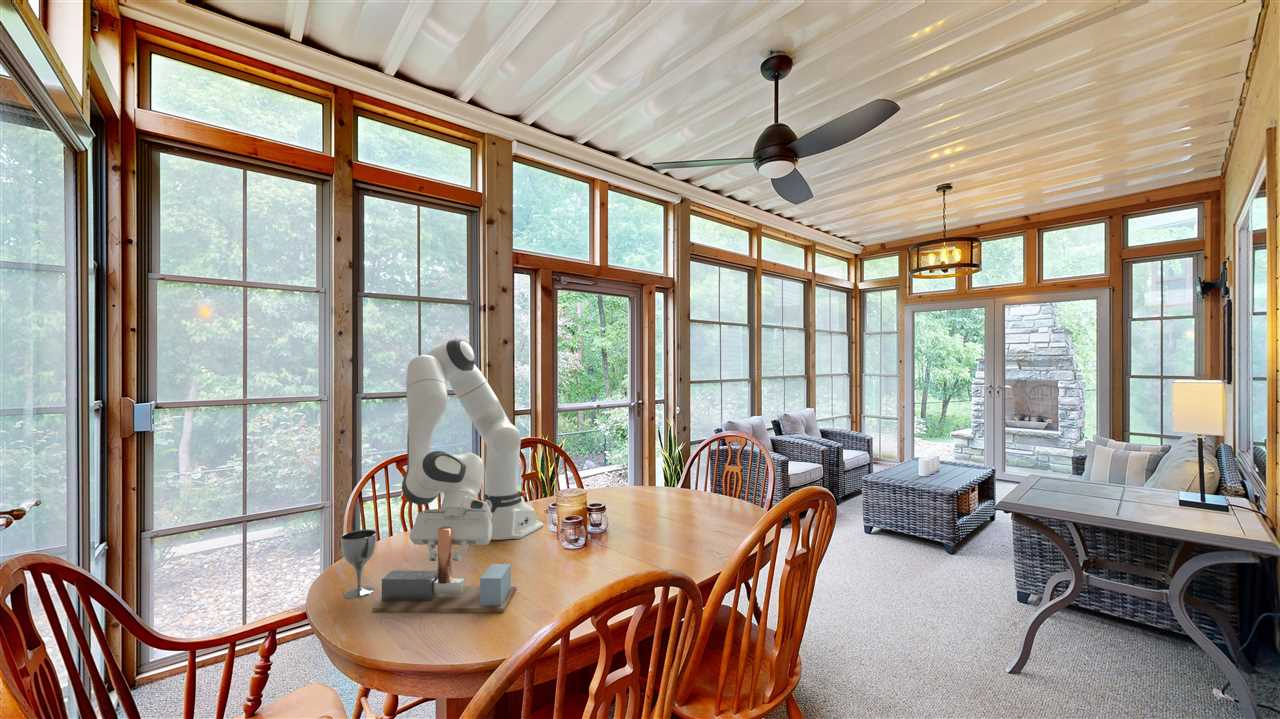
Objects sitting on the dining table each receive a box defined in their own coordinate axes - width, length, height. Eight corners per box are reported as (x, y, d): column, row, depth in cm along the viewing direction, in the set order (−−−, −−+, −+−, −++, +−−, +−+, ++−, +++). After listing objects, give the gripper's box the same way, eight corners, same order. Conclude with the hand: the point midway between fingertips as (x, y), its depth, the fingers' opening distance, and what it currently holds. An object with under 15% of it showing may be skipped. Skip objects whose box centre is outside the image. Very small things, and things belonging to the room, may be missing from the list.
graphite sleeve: (381, 601, 129) (381, 579, 129) (392, 591, 134) (392, 570, 134) (430, 601, 128) (430, 579, 128) (439, 591, 134) (439, 570, 134)
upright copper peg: (387, 593, 130) (387, 530, 130) (394, 587, 133) (394, 526, 133) (460, 594, 129) (460, 530, 129) (464, 588, 133) (464, 526, 133)
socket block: (480, 605, 126) (480, 578, 126) (491, 589, 135) (491, 563, 135) (500, 605, 126) (500, 578, 126) (510, 589, 135) (510, 563, 135)
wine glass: (334, 599, 132) (334, 539, 132) (352, 585, 140) (352, 529, 140) (366, 599, 132) (366, 539, 132) (381, 585, 140) (381, 529, 140)
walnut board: (372, 611, 125) (372, 607, 125) (396, 589, 137) (396, 586, 137) (503, 612, 125) (503, 608, 125) (516, 590, 137) (516, 586, 137)
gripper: (415, 503, 138) (398, 554, 128) (493, 503, 138) (481, 554, 128) (423, 515, 143) (406, 565, 133) (498, 515, 142) (487, 565, 133)
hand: (444, 560), depth 131 cm, fingers open, 5 cm apart
